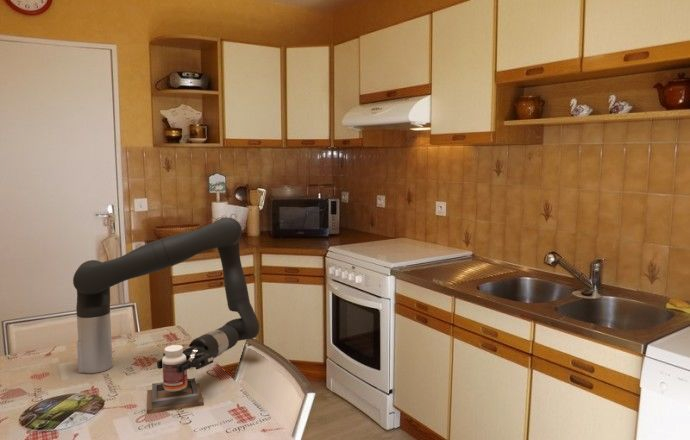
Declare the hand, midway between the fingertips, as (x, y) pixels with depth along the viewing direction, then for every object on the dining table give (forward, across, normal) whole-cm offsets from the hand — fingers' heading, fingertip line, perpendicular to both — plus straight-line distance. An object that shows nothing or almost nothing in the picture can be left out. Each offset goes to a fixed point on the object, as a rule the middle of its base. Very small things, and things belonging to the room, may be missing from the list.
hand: (168, 367), depth 137 cm
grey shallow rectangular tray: (-2, 0, +10) cm, 10 cm away
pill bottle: (-2, 0, +7) cm, 7 cm away
